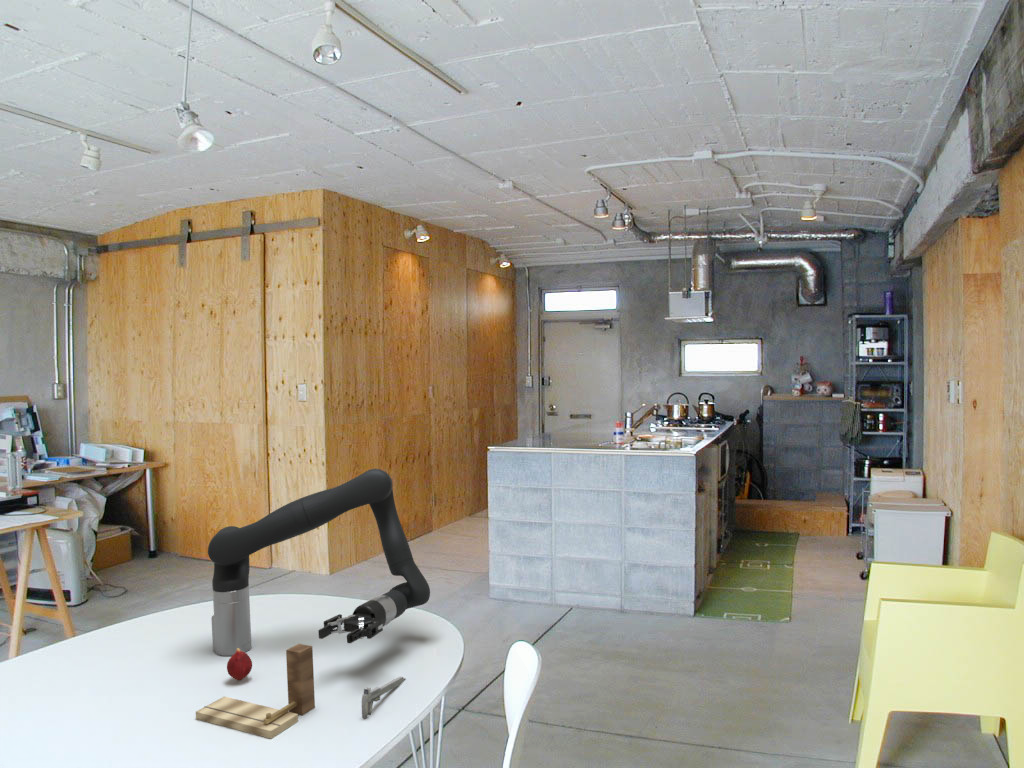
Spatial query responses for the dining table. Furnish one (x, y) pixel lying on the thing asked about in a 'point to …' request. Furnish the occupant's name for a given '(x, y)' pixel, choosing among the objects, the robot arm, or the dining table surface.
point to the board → (245, 717)
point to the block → (298, 682)
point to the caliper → (376, 695)
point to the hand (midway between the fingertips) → (333, 637)
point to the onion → (239, 665)
